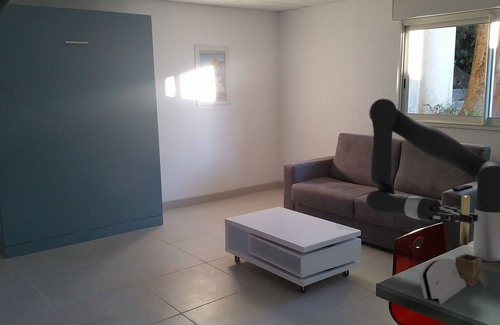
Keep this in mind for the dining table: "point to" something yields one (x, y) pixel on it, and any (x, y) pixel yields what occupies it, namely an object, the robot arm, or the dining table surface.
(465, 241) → the pin
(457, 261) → the pin block
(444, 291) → the hinge
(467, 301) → the dining table surface
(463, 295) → the dining table surface
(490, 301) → the dining table surface
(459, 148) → the robot arm
